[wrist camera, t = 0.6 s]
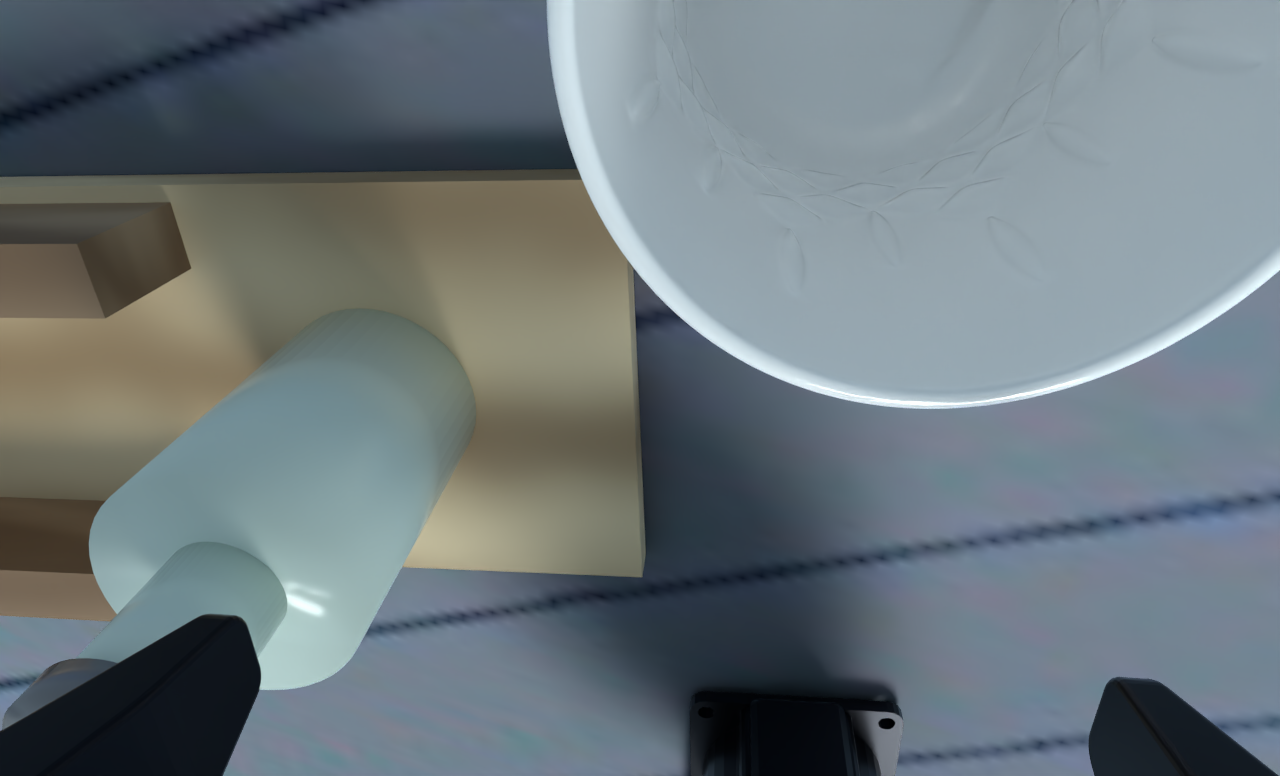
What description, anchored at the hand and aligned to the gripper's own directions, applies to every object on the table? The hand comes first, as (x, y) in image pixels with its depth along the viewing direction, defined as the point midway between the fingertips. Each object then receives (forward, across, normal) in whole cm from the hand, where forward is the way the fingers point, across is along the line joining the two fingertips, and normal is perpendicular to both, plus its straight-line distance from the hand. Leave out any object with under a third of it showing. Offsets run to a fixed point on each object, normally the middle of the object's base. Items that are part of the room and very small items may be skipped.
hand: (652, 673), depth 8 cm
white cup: (+12, -3, -6) cm, 14 cm away
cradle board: (+12, +13, +3) cm, 18 cm away
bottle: (+11, +8, +3) cm, 14 cm away
